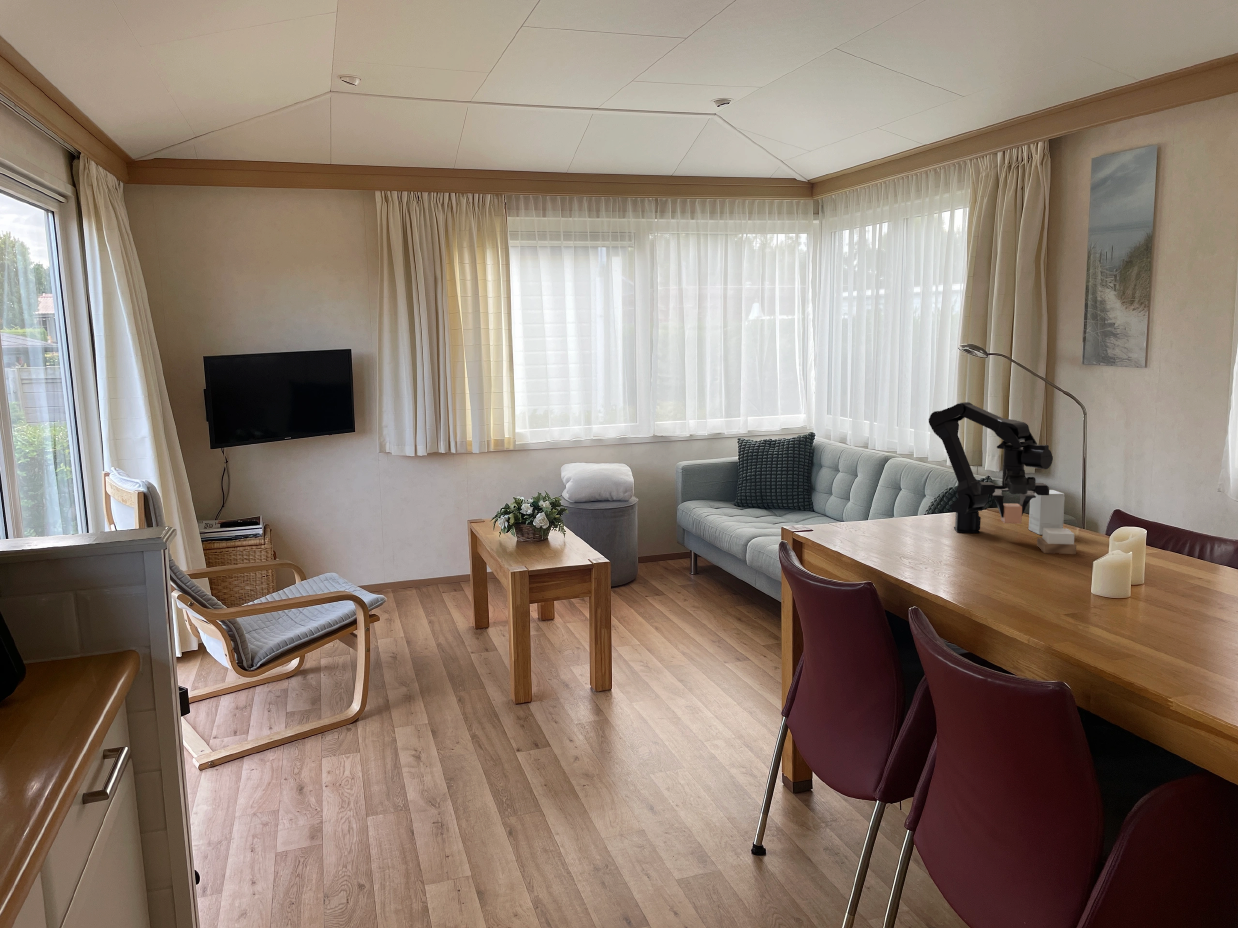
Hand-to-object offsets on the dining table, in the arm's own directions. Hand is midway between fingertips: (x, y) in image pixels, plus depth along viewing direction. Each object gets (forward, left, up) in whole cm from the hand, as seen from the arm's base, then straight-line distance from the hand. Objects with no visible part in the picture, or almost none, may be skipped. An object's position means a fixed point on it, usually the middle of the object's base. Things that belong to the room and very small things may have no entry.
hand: (1011, 517), depth 253 cm
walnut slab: (+10, -11, -7) cm, 16 cm away
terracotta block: (0, 0, -1) cm, 1 cm away
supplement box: (+13, +12, -7) cm, 19 cm away
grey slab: (+10, -11, -4) cm, 15 cm away
